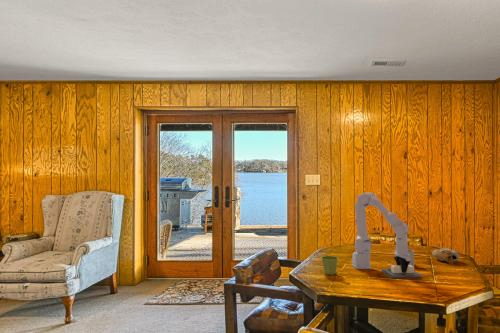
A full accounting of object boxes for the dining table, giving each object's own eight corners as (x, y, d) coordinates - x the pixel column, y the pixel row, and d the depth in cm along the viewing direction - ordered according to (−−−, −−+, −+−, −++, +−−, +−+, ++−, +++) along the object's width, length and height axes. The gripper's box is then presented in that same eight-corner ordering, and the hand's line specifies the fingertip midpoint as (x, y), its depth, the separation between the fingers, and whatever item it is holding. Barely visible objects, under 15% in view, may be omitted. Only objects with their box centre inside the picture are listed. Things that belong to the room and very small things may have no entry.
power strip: (394, 276, 181) (393, 266, 181) (391, 274, 185) (390, 264, 185) (414, 276, 181) (414, 266, 182) (410, 274, 185) (410, 264, 185)
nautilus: (462, 268, 197) (433, 267, 204) (458, 258, 216) (432, 257, 223) (461, 255, 197) (432, 254, 204) (457, 246, 216) (431, 245, 223)
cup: (412, 267, 198) (411, 252, 198) (394, 264, 205) (394, 249, 205) (415, 265, 203) (415, 250, 204) (398, 262, 210) (398, 247, 210)
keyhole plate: (391, 278, 178) (391, 275, 178) (381, 271, 190) (381, 268, 190) (421, 277, 179) (421, 274, 179) (409, 271, 191) (409, 268, 191)
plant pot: (329, 277, 181) (328, 260, 181) (317, 272, 189) (317, 257, 189) (342, 274, 185) (342, 258, 185) (330, 270, 194) (330, 255, 194)
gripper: (416, 248, 176) (416, 275, 176) (402, 243, 191) (402, 267, 190) (402, 249, 176) (403, 275, 176) (390, 243, 191) (390, 267, 190)
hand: (402, 271), depth 183 cm, fingers closed on power strip, 4 cm apart
